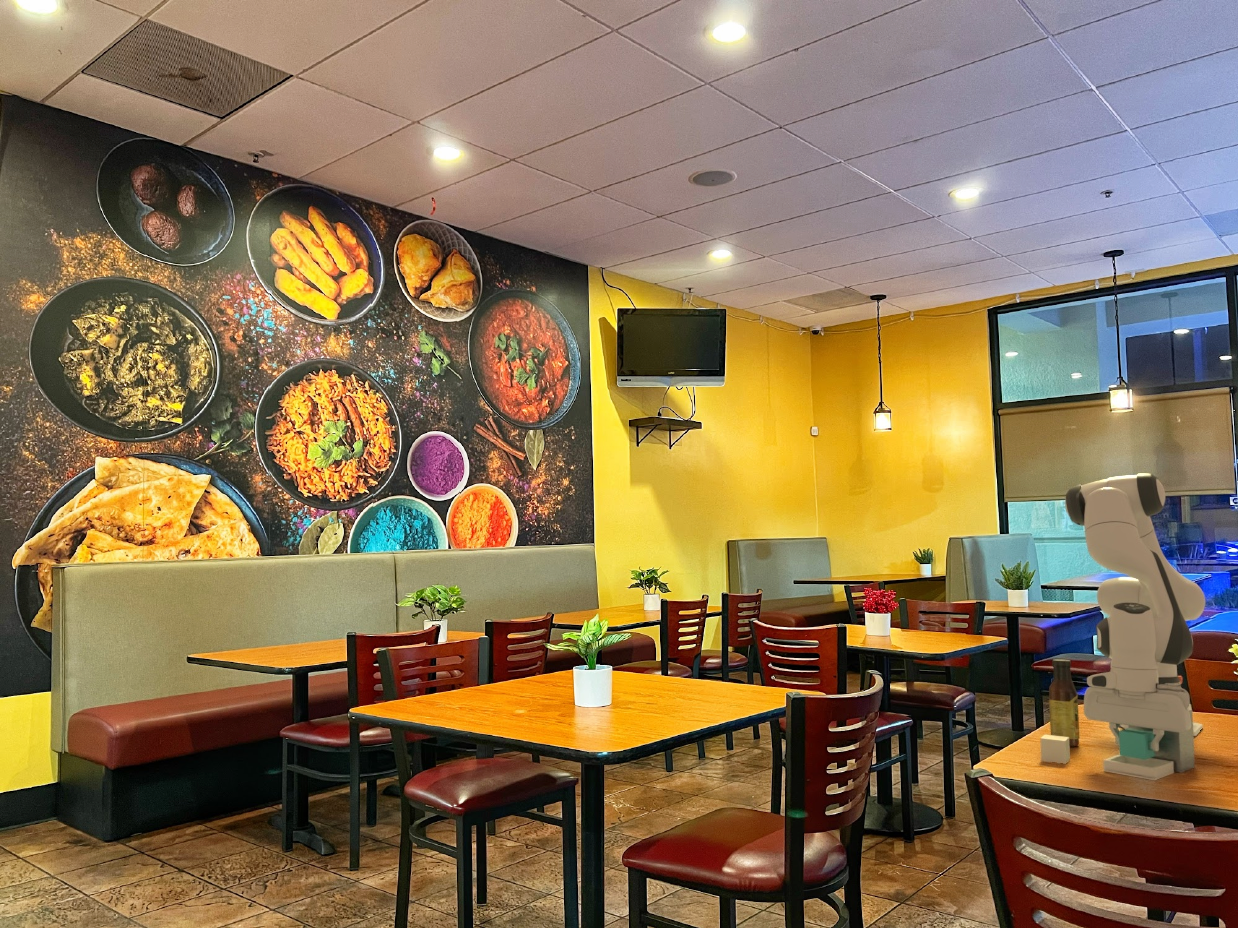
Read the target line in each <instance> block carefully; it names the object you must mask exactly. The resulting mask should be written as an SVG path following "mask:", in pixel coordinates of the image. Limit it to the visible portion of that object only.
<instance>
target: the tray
mask: <svg viewBox="0 0 1238 928" xmlns="http://www.w3.org/2000/svg"><path fill="white" fill-rule="evenodd" d="M1102 761H1103V762H1102V763H1103V764H1102V765H1103V772H1107V773H1112V774H1118V775H1123V776H1127V777H1134V778H1139V779H1145V780H1150V781H1158V780H1159V779H1162V778H1164V777H1167V776H1169V775H1172V774H1174V773H1175V772H1174V766H1173V761H1167V760H1161V759H1155V758H1149V759H1146V760H1144V759H1138V758H1133V757H1127V756H1121V755H1120V753H1119V754H1117V755H1114V756H1110V757H1108V758H1105V759H1102Z"/></svg>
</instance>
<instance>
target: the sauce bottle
mask: <svg viewBox="0 0 1238 928" xmlns="http://www.w3.org/2000/svg"><path fill="white" fill-rule="evenodd" d="M1051 660H1052V661H1051V663H1052V667H1053V680H1052V682H1051V684H1050V685H1049V689H1048V692H1049V694H1048V695H1049V699H1048V704H1049V705H1048V707H1049V724H1050V725H1049V726H1050V728H1049V729H1050V735H1054V736H1063V737H1069V747H1073V748H1074V747H1078V746H1079V745H1080V736H1081V735H1080V720H1079V719H1080V717H1079V716H1080V715H1079V699H1078V698H1079V697H1078V695H1079V694H1078V692H1077V690H1076V687H1075V685H1074V682H1073V680H1072V675H1071V674H1072V673H1071V668H1072V661H1071V660H1070V659H1061V658H1060V659H1057V658H1056V659H1051Z"/></svg>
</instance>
